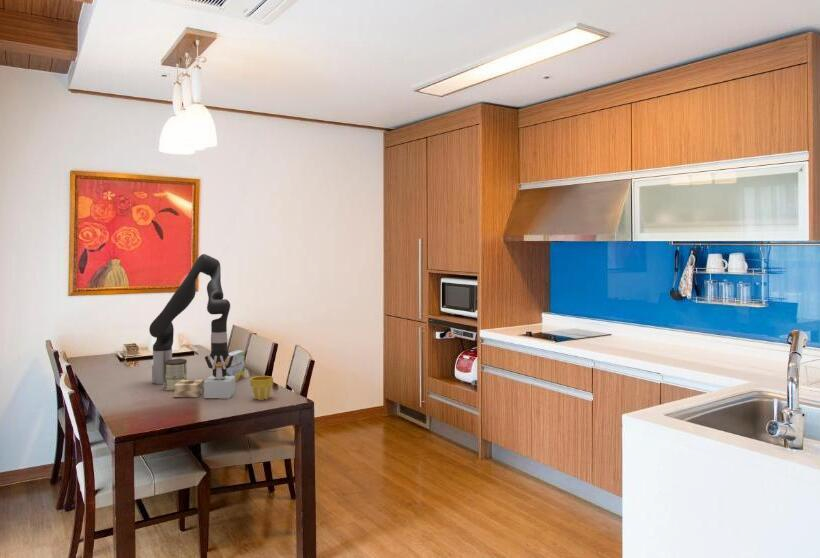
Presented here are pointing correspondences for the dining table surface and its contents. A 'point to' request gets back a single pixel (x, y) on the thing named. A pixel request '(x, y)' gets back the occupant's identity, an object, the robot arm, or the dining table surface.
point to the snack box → (236, 365)
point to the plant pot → (261, 386)
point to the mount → (189, 388)
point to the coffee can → (175, 372)
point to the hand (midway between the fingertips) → (219, 376)
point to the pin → (219, 371)
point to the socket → (219, 387)
